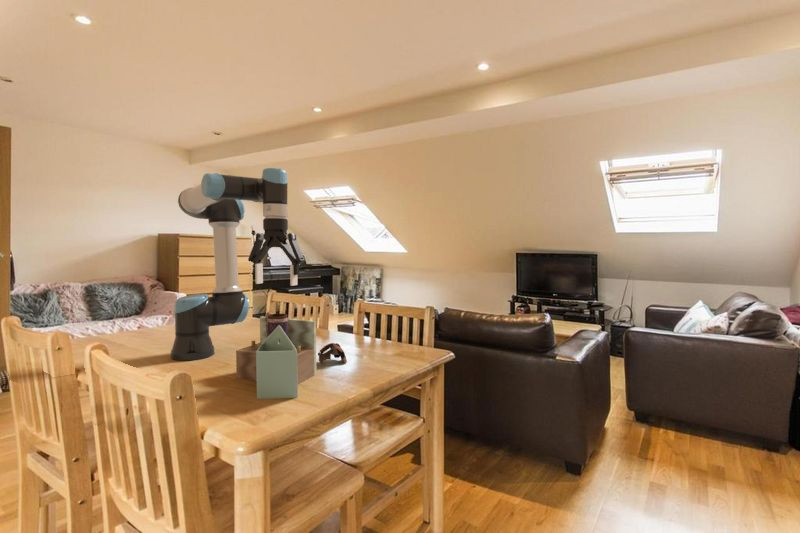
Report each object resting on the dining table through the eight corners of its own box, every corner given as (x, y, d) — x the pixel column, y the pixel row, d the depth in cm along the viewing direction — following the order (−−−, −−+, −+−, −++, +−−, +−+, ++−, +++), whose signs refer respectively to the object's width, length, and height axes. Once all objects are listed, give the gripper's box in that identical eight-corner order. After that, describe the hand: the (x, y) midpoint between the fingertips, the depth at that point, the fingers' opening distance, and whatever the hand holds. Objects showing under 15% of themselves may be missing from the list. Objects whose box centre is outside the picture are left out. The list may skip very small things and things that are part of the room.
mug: (293, 350, 135) (293, 314, 134) (272, 355, 130) (272, 316, 129) (278, 345, 142) (277, 310, 141) (258, 348, 137) (257, 312, 136)
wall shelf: (236, 377, 135) (235, 323, 134) (263, 366, 147) (262, 316, 146) (293, 386, 127) (292, 328, 126) (316, 374, 139) (315, 321, 138)
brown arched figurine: (346, 368, 148) (335, 349, 146) (324, 378, 150) (312, 360, 147) (351, 351, 159) (340, 333, 157) (330, 360, 161) (319, 343, 159)
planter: (241, 392, 123) (239, 325, 121) (264, 385, 129) (263, 321, 128) (274, 405, 113) (273, 333, 111) (298, 397, 119) (297, 328, 118)
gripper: (236, 218, 134) (237, 283, 135) (301, 216, 125) (302, 287, 126) (252, 219, 141) (253, 281, 142) (315, 218, 132) (316, 284, 133)
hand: (276, 284), depth 134 cm, fingers open, 13 cm apart
